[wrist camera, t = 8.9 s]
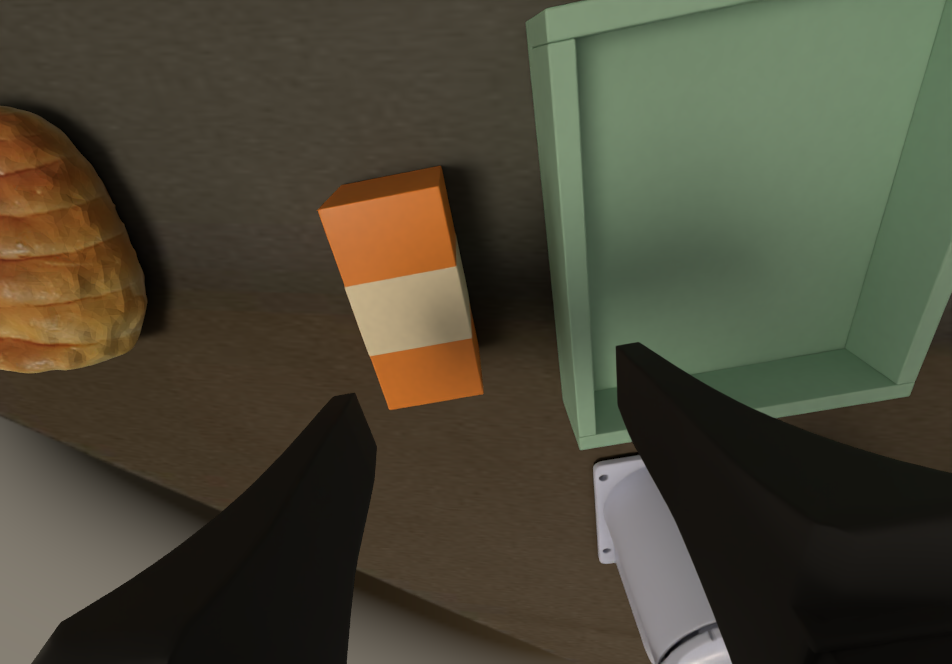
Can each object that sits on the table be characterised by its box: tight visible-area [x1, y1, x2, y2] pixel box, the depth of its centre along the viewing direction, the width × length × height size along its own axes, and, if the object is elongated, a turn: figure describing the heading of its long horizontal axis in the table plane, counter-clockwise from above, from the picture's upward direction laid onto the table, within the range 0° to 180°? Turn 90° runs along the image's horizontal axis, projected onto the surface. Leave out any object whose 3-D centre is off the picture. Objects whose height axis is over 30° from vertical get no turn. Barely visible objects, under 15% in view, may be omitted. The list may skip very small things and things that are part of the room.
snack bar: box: [318, 166, 484, 410], centre depth 18 cm, size 8×4×4 cm, turn 10°
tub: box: [526, 0, 952, 450], centre depth 17 cm, size 17×15×4 cm
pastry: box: [0, 106, 148, 373], centre depth 16 cm, size 9×7×4 cm
